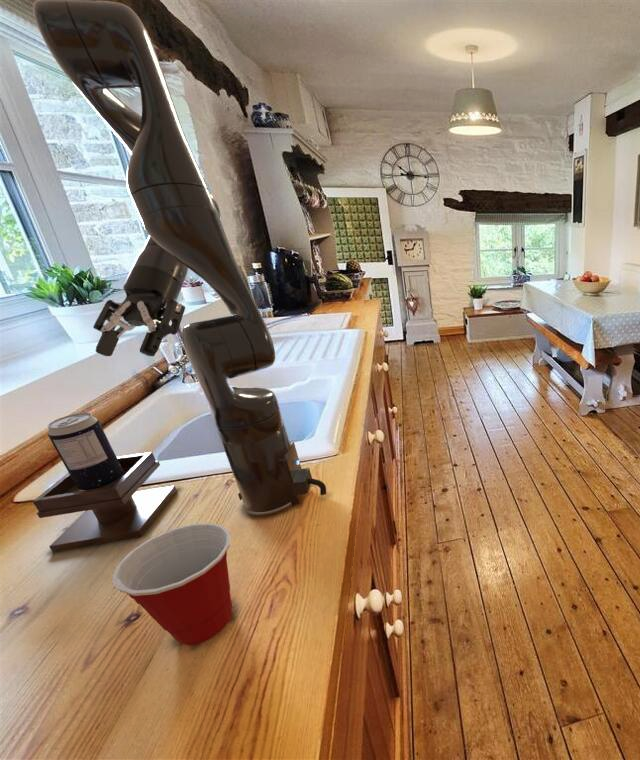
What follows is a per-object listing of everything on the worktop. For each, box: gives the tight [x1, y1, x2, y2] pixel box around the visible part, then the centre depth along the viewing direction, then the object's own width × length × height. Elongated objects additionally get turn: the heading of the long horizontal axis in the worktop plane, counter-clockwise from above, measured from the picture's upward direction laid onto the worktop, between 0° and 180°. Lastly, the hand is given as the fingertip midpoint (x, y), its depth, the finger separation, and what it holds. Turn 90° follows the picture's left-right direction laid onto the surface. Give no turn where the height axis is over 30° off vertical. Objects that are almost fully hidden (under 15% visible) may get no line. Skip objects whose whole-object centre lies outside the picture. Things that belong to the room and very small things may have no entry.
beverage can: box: [47, 412, 123, 491], centre depth 65 cm, size 6×6×12 cm
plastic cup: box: [111, 522, 233, 647], centre depth 49 cm, size 11×11×12 cm
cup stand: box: [32, 451, 178, 553], centre depth 68 cm, size 12×12×9 cm
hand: (124, 354), depth 71 cm, fingers open, 8 cm apart
